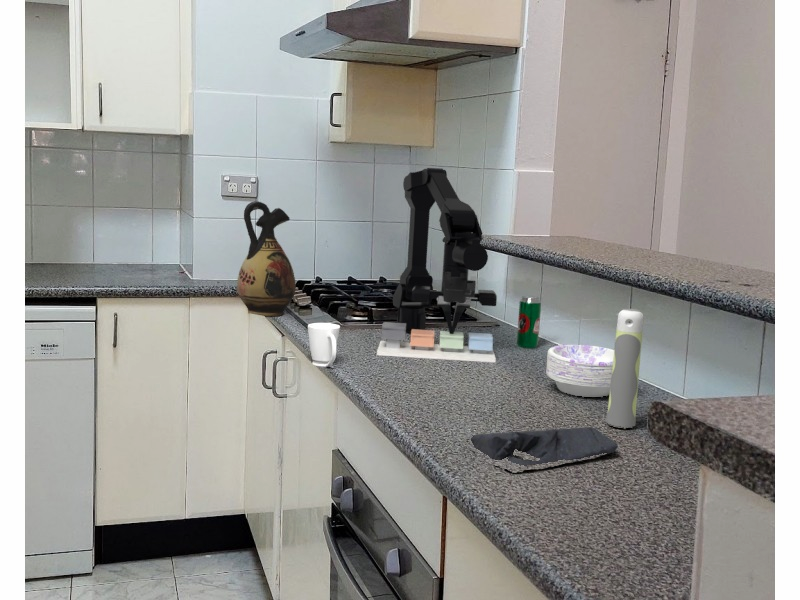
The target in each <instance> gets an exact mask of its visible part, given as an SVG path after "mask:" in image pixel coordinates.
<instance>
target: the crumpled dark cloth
mask: <svg viewBox="0 0 800 600" xmlns="http://www.w3.org/2000/svg"><path fill="white" fill-rule="evenodd" d="M473 436H474V437H472V438H471V441H472V443H473V445H474V447H475V448H476V449H478V450H480V451H481V452H483V453H484V454H486V455H488V456H489V457H490V458H492V459H495V460H502V459H504V458H506V457H508V458H509V459H508V458H507V459H508V461H511V462H513V463H516V464H519V465H520V466H521V465H524V466H527V465H535V464H542V463H548V462H555V461H558V460H563V459H565V460H573V459H581V458H584V457H588V456H589V457H590V456H593V455H599V454H602V453H603V454H604V453H608V454H611V453H610V452H612V453H614V451H615V452H616V451H618V442H616V441H615V440H613V439H611V438H610V437H609V436H607V435H605V434H603V433H602V432H601V431H599V430H598V429H597V428H596V427H592V426H590V427H588V426H587V427H570V428H559V429H557V428H556V429H555V428H554V429H545V430H541V429H540V430H522V431H506V432H491V433H490V432H489V433H477V434H474V435H473ZM515 449H517V450H518V451H522V452H526V453H527V454H530V455H531V456H534V457H536V458H540V460H539V461H532V460H523V459H521V458H519V457H518V458H517V456H514V455H513V452H514V450H515Z"/></svg>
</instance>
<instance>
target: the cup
mask: <svg viewBox="0 0 800 600" xmlns="http://www.w3.org/2000/svg"><path fill="white" fill-rule="evenodd" d="M340 328H341V325H339V324H335V323H332V322H331V323H329V322H314V323H309V324H307V331H308V341H309V342H308V343H309V350H310V355H311V359H312V365H313V366H316V367H325V368H327V367H328V368H329V367H331V366H333V364H334V362H335V360H336V357H337V344H338V339H339V334H340Z"/></svg>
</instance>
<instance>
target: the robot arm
mask: <svg viewBox="0 0 800 600" xmlns="http://www.w3.org/2000/svg"><path fill="white" fill-rule="evenodd" d="M402 183H403V190H404V198H405V200H406V202H407V204H408V206H409V207H410V209H409V210H410V211H409V213H410V214H409V227H408V228H409V231H408V245H407V246H408V248H407V262H406V263H407V264H406V267H405V269H404V270H403V272H402V273H401V274H400V276H399V284H398V285H397V287H396V289H395V291H394V294H393V296H392V305H393V306H394V307H395V308H397V317H396V318H397V320H396V321H397V322H396V323H406V334H407V333H408V334H411V330H412V329H418V330H428V328H426V323H427V322H426V321H427V320H426V319H427V314H426V309H431V306H432V301H433V299H434V300H436V301H437V302H436V306H437V307H438V308H439V307H440V308H442V311H443V314H444V316H445V320H446V323H447V328H448V331H449V332H450V334H454V332H456V328H457V327H458V326H457V325H458V324H459V320H460V318H461V317H462V314H463V313H464V312H465V310H466V309H470V308H471V302H478V303H479V304H480V305H481V306H487V307H497V298H498V296H497V293H496V292H495V291H494V289H493V290H491V289H478V292H476V284H477V283H476V280H470V279H469V271H473V272H478V271H481V270H482V269H484V268H485V266H486V265H487V262H488V261H489V254H488V251H487V250H486V248H485V247H484V245H481V242H482V241H483V237H482V235H483V231H482V228H481V225H480V223H479V219H478V215H477V214H476V212H475V210H474V209H473V208H472V207H471V206H470V204H468V203H466V202H464V201H462V200H461V199H460V198H459V196H458V194H457V192H456V191H455V189H454V187H453V186H452V184H451V182H450V180H449V179H448V175H447V170H446V169H444V168H439V167H438V168H437V167H427V168H424V169H422V170H419V171H410V172H409V173H407V175H406V176H405V177H404V178H403V182H402ZM435 204H436V205H437V207H438V209H439V211H440V213H441V214H440V216H439V220H438V221H439V226H440V228H441V230H442V233H443V235H444V237H443V238H442V242H443V243H444V245H443V246H444V247H443V259H442V260H443V261H442V263H443V264H442V265H443V266H442V280H441V290H435V289H434V287H433V282H434V278H433V277H432V275H430V273H429V271H428V268H427V261H428V260H427V259H428V247H429V246H428V244H429V227H430V226H429V225H430V213H431V212H430V211H431V209H432V207H433V206H434V205H435ZM452 302H453V303H455V307H454V314H453V318H452V311H451V310H452V309H451V308H452V307H451V303H452Z"/></svg>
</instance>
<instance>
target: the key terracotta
mask: <svg viewBox="0 0 800 600" xmlns="http://www.w3.org/2000/svg"><path fill="white" fill-rule="evenodd" d="M409 343H410V346H422V347H434V344H435V330H432V329H430V330H429V329H427V330H418V329H412V330H411V333H410V342H409Z"/></svg>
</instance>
